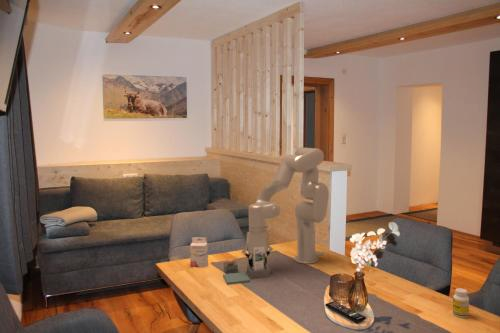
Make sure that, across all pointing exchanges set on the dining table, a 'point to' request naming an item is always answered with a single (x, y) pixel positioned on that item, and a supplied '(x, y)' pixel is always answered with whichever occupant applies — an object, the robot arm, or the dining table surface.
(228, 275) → the mat
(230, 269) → the plunger housing
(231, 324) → the dining table surface
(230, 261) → the plunger
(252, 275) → the frame
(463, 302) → the supplement bottle
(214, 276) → the dining table surface
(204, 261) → the ink cartridge box
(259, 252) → the syrup box
